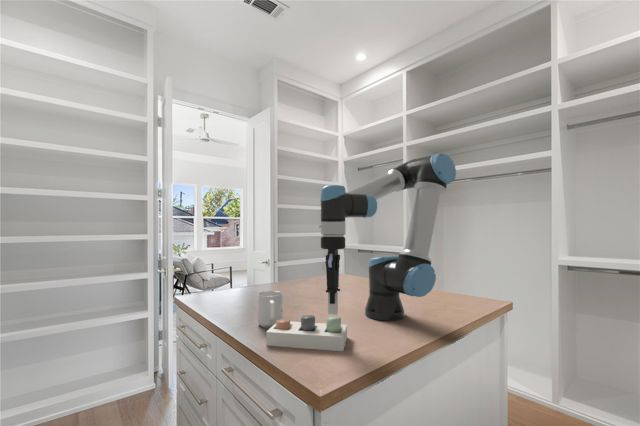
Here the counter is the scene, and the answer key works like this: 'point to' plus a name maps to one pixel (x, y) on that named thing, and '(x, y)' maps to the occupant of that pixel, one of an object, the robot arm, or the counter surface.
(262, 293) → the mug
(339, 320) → the button sage
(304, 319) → the button charcoal
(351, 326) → the counter surface
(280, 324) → the button terracotta
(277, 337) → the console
